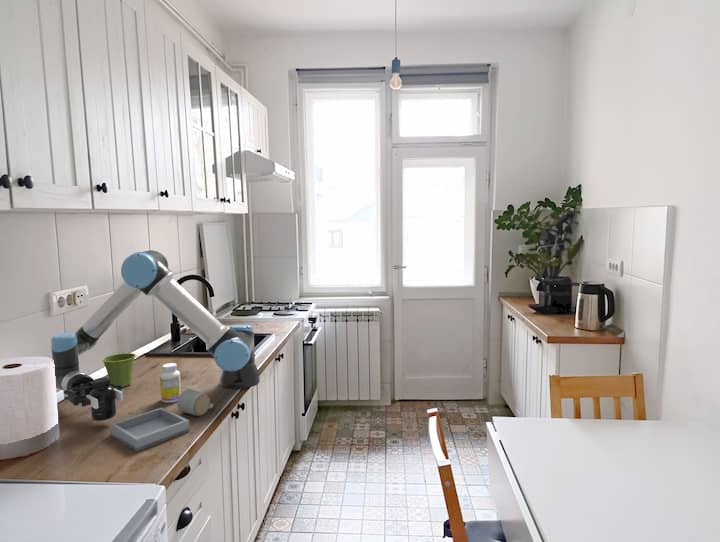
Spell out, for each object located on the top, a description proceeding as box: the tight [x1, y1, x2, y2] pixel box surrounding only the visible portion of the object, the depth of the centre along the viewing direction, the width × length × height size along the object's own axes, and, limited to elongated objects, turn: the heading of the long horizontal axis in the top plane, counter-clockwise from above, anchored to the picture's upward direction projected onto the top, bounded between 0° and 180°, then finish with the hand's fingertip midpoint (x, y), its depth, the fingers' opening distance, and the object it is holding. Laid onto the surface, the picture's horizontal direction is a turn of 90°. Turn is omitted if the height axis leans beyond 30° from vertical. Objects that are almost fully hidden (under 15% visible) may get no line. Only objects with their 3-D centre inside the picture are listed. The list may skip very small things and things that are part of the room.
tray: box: [109, 407, 191, 452], centre depth 140 cm, size 16×16×4 cm
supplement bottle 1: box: [90, 377, 117, 422], centre depth 146 cm, size 7×7×12 cm
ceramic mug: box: [176, 388, 214, 417], centre depth 156 cm, size 11×8×8 cm
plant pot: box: [101, 352, 137, 388], centre depth 182 cm, size 12×12×11 cm
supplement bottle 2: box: [159, 362, 182, 404], centre depth 166 cm, size 7×7×13 cm
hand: (109, 400), depth 142 cm, fingers closed on supplement bottle 1, 7 cm apart
